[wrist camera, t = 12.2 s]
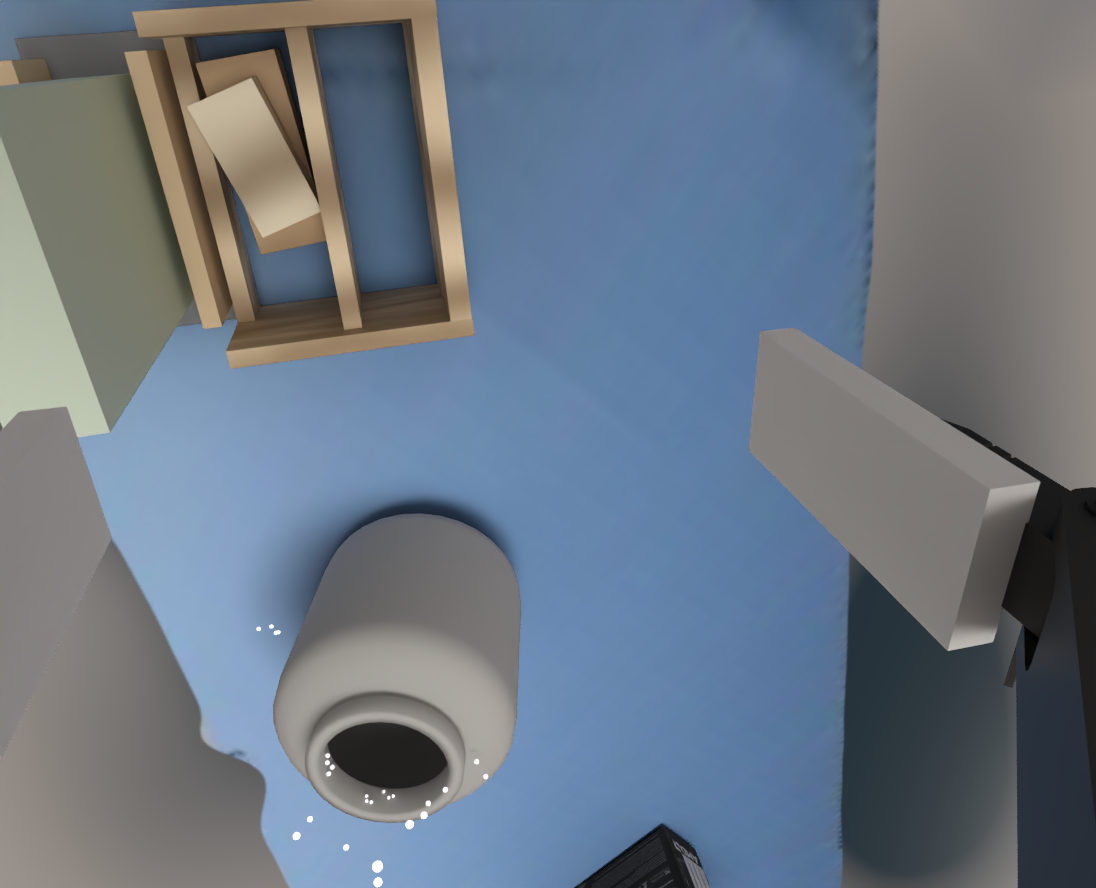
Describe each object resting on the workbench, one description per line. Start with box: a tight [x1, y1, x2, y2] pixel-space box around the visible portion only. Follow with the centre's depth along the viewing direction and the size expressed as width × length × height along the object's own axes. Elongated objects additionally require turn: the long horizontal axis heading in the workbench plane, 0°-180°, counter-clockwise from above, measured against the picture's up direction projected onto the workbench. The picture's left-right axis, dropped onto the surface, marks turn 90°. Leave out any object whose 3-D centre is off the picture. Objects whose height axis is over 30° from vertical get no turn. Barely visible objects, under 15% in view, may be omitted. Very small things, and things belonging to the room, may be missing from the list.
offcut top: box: [187, 76, 321, 238], centre depth 41 cm, size 7×4×2 cm, turn 21°
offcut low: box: [195, 49, 327, 255], centre depth 44 cm, size 10×4×4 cm, turn 10°
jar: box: [257, 513, 521, 887], centre depth 49 cm, size 19×15×25 cm
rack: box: [132, 0, 475, 369], centre depth 43 cm, size 17×13×8 cm
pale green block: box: [0, 74, 195, 437], centre depth 36 cm, size 12×4×20 cm, turn 4°
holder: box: [0, 31, 237, 329], centre depth 42 cm, size 16×7×5 cm, turn 4°
